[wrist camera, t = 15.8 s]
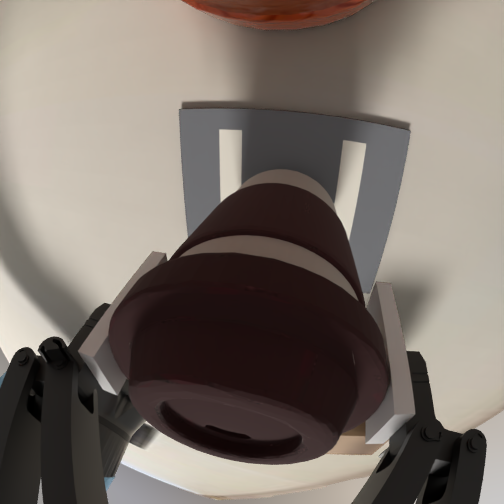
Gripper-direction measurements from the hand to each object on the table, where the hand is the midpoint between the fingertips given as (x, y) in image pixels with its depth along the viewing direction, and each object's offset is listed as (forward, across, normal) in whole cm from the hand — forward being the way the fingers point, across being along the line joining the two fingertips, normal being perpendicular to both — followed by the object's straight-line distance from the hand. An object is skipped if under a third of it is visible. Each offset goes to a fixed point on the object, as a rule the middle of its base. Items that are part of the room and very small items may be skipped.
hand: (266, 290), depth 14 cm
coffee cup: (+8, 0, 0) cm, 8 cm away
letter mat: (+10, 0, 0) cm, 10 cm away
